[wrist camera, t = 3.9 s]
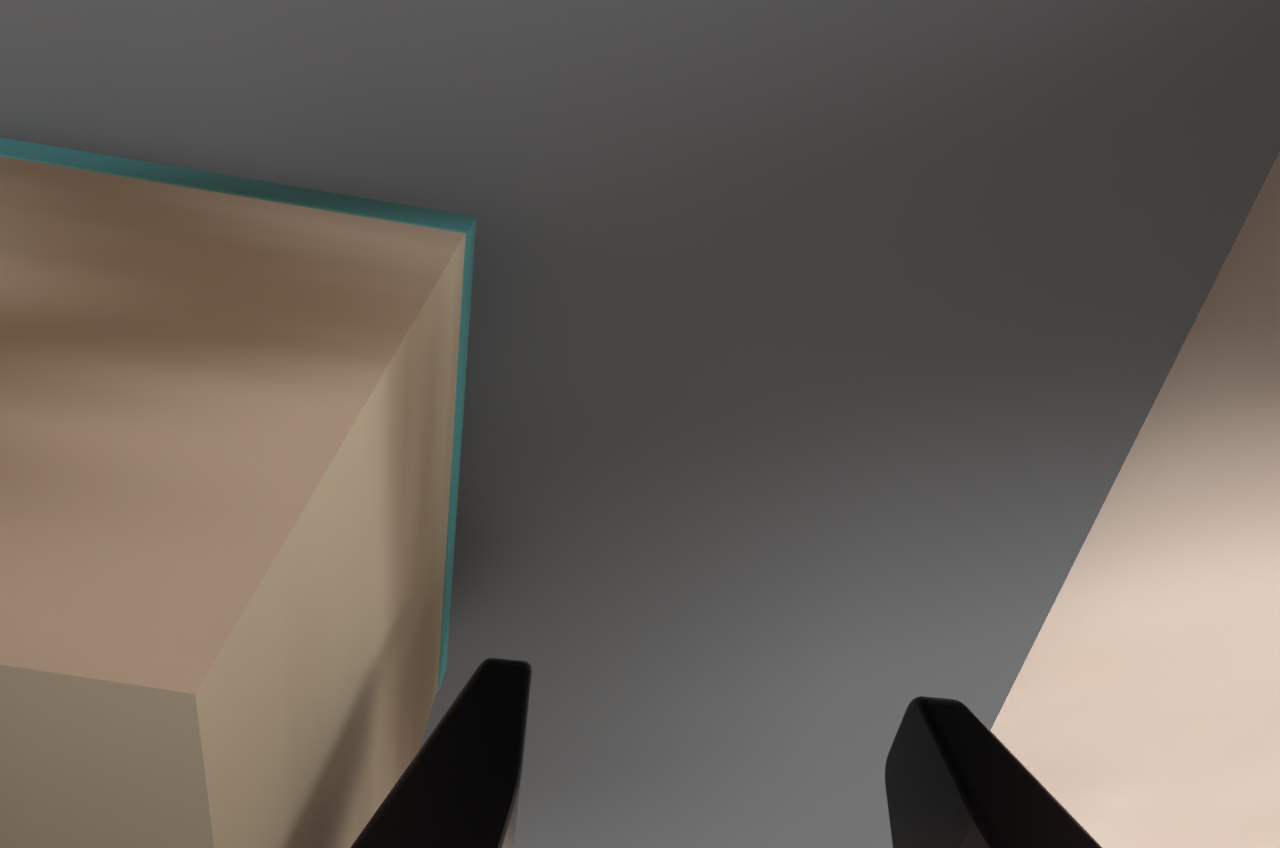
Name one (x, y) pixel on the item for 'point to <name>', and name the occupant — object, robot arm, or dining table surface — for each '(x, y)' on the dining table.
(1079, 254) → the rubber mat
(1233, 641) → the dining table surface
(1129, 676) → the dining table surface
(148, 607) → the beech cube
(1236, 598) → the dining table surface
